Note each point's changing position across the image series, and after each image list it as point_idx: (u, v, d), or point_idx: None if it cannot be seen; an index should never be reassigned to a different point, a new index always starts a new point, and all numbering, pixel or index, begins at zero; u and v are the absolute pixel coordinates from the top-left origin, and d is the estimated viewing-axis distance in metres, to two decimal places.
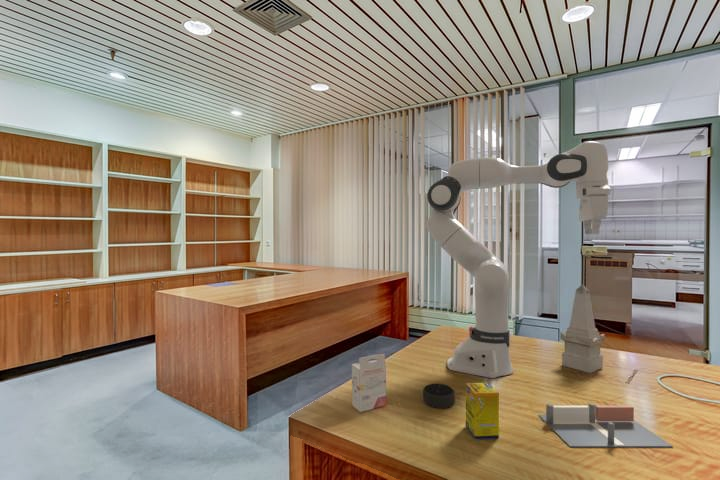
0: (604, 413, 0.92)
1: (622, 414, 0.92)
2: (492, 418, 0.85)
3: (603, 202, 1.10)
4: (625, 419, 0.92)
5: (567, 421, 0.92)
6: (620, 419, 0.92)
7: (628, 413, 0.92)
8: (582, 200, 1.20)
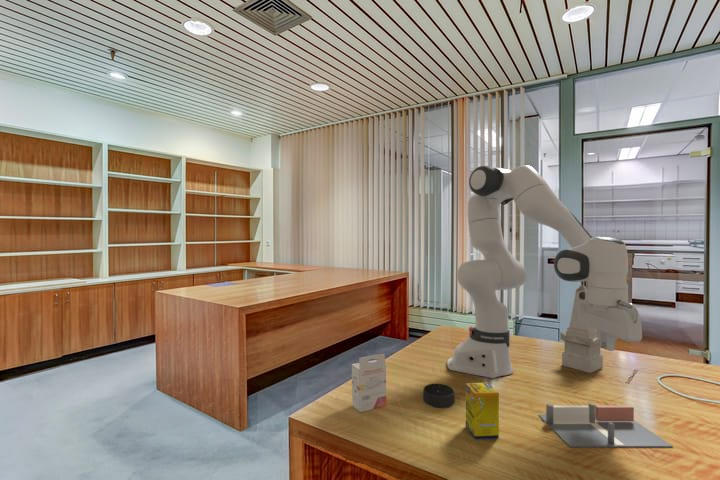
0: (604, 413, 0.92)
1: (622, 414, 0.92)
2: (492, 418, 0.85)
3: None
4: (625, 419, 0.92)
5: (567, 421, 0.92)
6: (620, 419, 0.92)
7: (628, 413, 0.92)
8: None
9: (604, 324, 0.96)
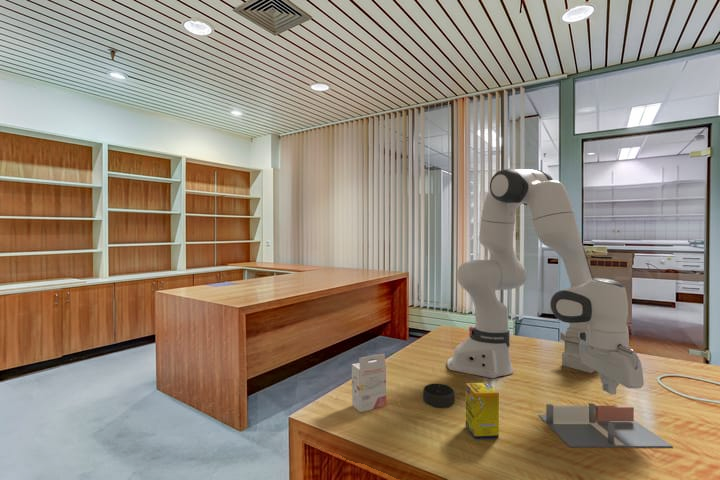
0: (604, 413, 0.92)
1: (622, 414, 0.92)
2: (492, 418, 0.85)
3: None
4: (625, 419, 0.92)
5: (567, 421, 0.92)
6: (620, 419, 0.92)
7: (628, 413, 0.92)
8: None
9: (605, 368, 0.96)
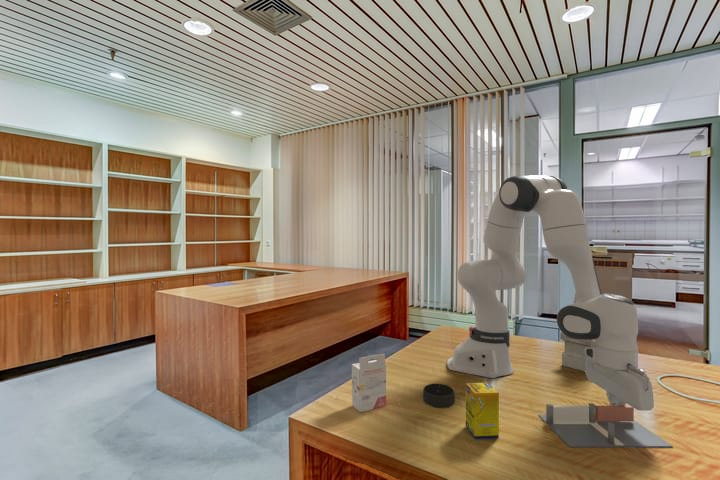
0: (604, 413, 0.92)
1: (622, 414, 0.92)
2: (492, 418, 0.85)
3: None
4: (625, 419, 0.92)
5: (567, 421, 0.92)
6: (620, 419, 0.92)
7: (628, 413, 0.92)
8: None
9: (613, 387, 0.93)
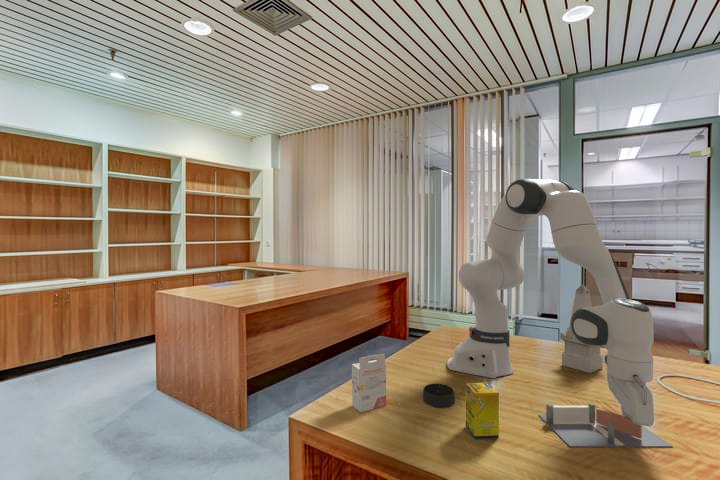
0: (603, 417, 0.90)
1: (625, 425, 0.86)
2: (492, 418, 0.85)
3: None
4: (629, 432, 0.86)
5: (567, 421, 0.92)
6: (623, 430, 0.87)
7: (633, 427, 0.85)
8: None
9: (621, 398, 0.87)
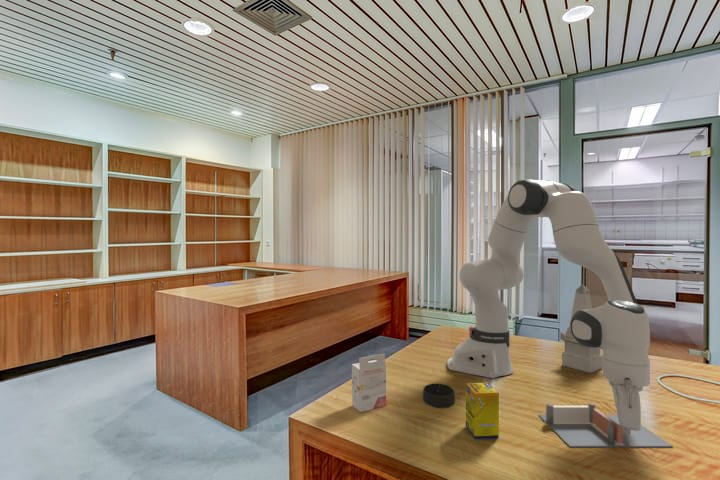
0: (597, 418, 0.90)
1: None
2: (492, 418, 0.85)
3: None
4: None
5: (567, 421, 0.92)
6: None
7: (614, 431, 0.84)
8: None
9: (616, 402, 0.84)
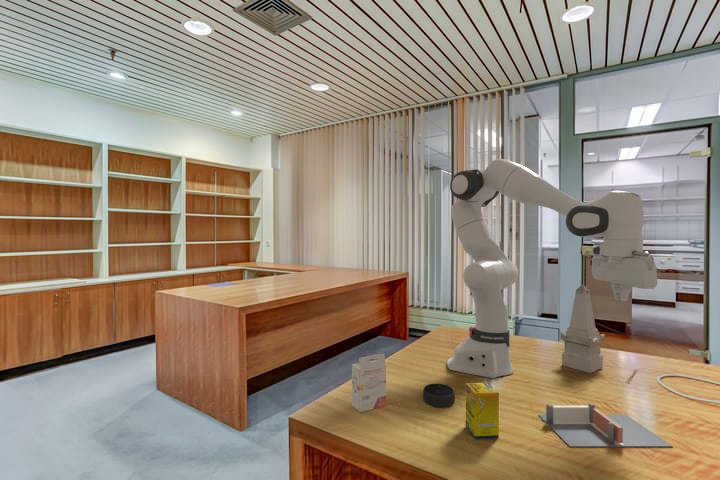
0: (597, 418, 0.90)
1: None
2: (492, 418, 0.85)
3: None
4: None
5: (567, 421, 0.92)
6: None
7: (614, 431, 0.84)
8: None
9: (619, 275, 0.99)
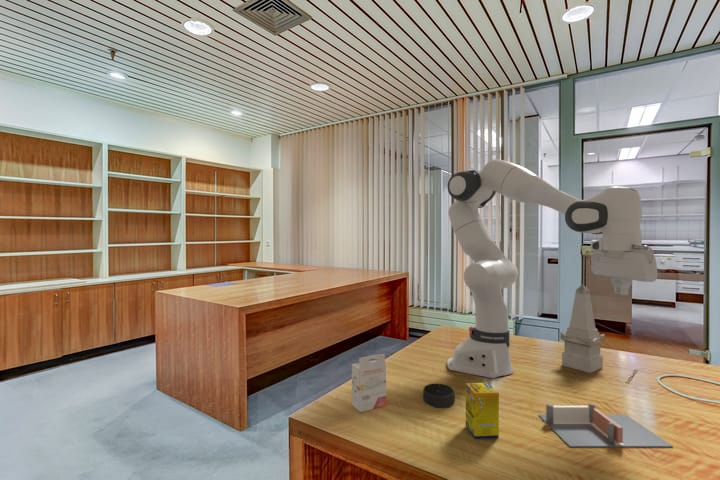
0: (597, 418, 0.90)
1: None
2: (492, 418, 0.85)
3: None
4: None
5: (567, 421, 0.92)
6: None
7: (614, 431, 0.84)
8: None
9: (619, 269, 1.00)
